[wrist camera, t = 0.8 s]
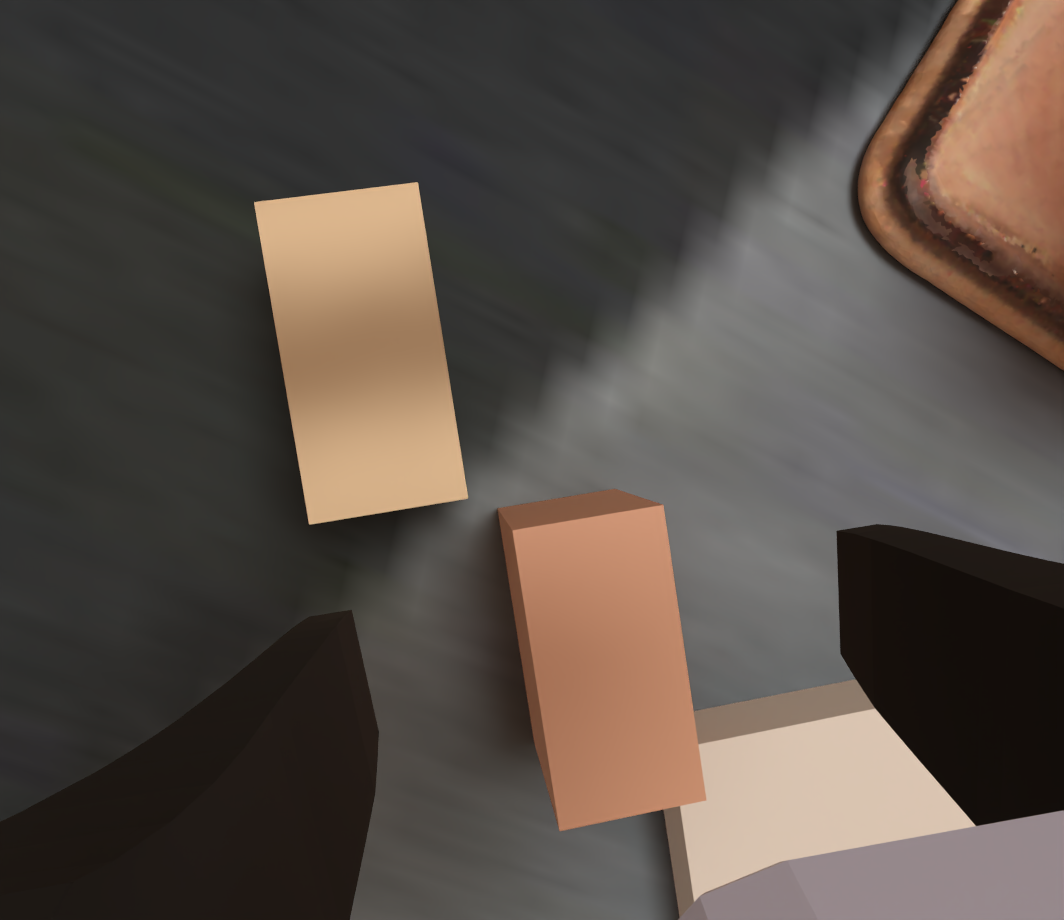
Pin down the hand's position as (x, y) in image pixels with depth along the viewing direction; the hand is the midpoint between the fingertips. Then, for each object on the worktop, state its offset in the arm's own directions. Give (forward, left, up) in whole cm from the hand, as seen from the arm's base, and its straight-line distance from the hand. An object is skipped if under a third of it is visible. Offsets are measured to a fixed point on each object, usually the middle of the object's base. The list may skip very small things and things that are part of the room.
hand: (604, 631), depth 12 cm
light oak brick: (+5, +3, -15) cm, 16 cm away
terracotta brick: (-4, -2, -15) cm, 15 cm away
